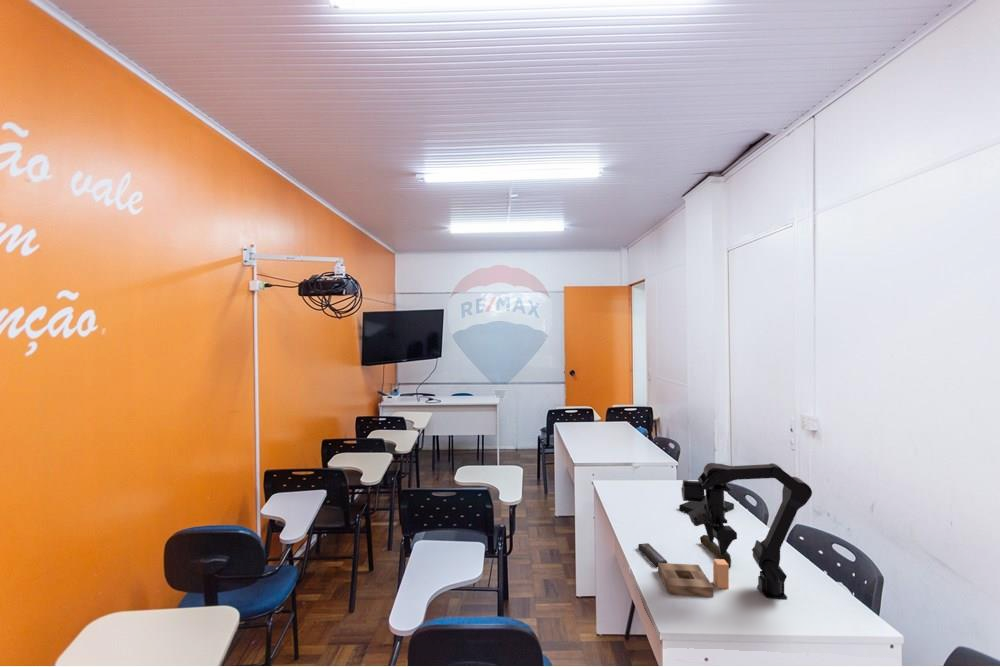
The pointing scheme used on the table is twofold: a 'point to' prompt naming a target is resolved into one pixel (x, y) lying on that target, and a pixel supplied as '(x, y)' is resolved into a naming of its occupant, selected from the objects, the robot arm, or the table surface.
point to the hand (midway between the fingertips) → (716, 548)
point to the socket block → (685, 579)
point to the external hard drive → (701, 505)
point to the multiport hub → (651, 554)
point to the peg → (721, 573)
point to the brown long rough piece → (715, 549)
